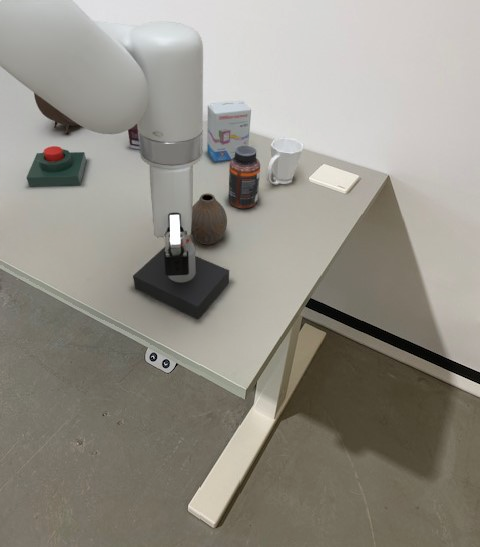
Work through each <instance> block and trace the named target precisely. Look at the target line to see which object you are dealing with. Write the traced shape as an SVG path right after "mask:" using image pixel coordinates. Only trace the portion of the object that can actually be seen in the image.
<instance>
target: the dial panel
mask: <svg viewBox="0 0 480 547" xmlns="http://www.w3.org/2000/svg"><path fill="white" fill-rule="evenodd" d="M164 252H165V246H164V247H162V248H161V249H160V250H159V251H158V252H157V253H156V254H155V255H154V256H153V257H152V258H150V260H148V261H147V262H146V263H145V264H144V265H143V266H142V267H140V269H138V271H136V272H135V273H134V274H133V275H132V279H133V285H134V289H135V290H136V291H139V292H141V293H142V294H144V295H146V296H149V297H151V298H153V299H155V300H157V301H159V302H162V303H163V304H165V305H168V306H169V307H171V308H173V309H176V310H178V311H180V312H182V313H184V314H185V315H188V316H190V317H192V318H194V319H196V320H200V318H201V317H202V316H203V315H204V313H205V312H206V311H207V310H208V309H209V308H210V306H211V305H212V304H213V303H214V302H215V300H217V298H218V297H219V295H221V293H223V291H224V290H225V289H226V288H227V286H228V285H229V282H230V270H229V269H228V268H225V267H222V266H220V265H218V264H215V263H213V262H211V261H209V260H206V259H204V258H202V257H199V256H197V255H195V265H196V274H195V276H194V278H193V279H191V280H190V281H187V282H181V283H180V282H175V281H172V280H171V279H170V278H169V277H168V276H167V275H166V273H165V260H164Z"/></svg>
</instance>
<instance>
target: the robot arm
mask: <svg viewBox="0 0 480 547" xmlns="http://www.w3.org/2000/svg"><path fill="white" fill-rule="evenodd" d="M0 67H1V68H2V69H3V70H4V71H5V72H7V73H8V74H9V75H11V77H13V78H14V79H16V80H17V81H18V82H19V83H21V84H22V85H23V86H24V87H26V88H27V89H28V90H29V91H31V92H33V94H34V93H35V94H37V95H38V96H39V97H41V98H42V99H44V100H45V101H46V102H48V103H49V104H50V105H52V106H53V107H55V108H56V109H57V110H59V111H60V112H61V113H63V114H64V115H66V116H67V117H68V118H70V119H71V120H73V121H74V122H76V123H77V124H79V125H78V126H80V127H82V128H84V129H86V130H88V131H91V132H94V133H97V134H102V135H115V134H117V135H118V134H122V133H124V132H128V130H129V129H131V128H132V127H134V126H135V125H136V124H137V127H138V137H139V146H140V149H139V154H140V159H141V160H142V161H143V162H144V163H145V164H147V165H149V185H150V186H149V187H150V200H151V208H152V209H151V211H152V226H153V235H154V237H155V238H157V239H159V238H164V247H165V250H166V252H164V260H165V273H166V275H167V276H176V275H188V274H189V255H188V251H187V248H186V238H188V237H189V236H190V235H191V224H192V207H193V205H194V203H193V202H194V166H195V165H197V164H198V163H200V161H201V160H202V158H203V150H204V146H203V145H204V144H203V142H204V140H203V139H204V137H203V136H204V135H203V134H204V130H203V126H204V125H203V124H204V123H203V122H204V119H203V118H204V44H203V40H202V37H201V35H200V34H199V32H198V31H197V30H195V28H193V27H191V26H189V25H187V24H184V23H180V22H174V21H150V22H145V23H142V24H138V25H136V24H123V23H116V22H107V21H100V20H94V19H92V18H91V17H90V16H89V15H88V14H87V13H86V11H84V10H83V9H82V8H81V7H80V6H79V5H78V4H77V3H76V2H75V1H74V0H0ZM180 239H182V246H181V242H180ZM169 242H171V246H170V247H169Z"/></svg>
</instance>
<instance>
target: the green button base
mask: <svg viewBox="0 0 480 547" xmlns="http://www.w3.org/2000/svg"><path fill="white" fill-rule="evenodd" d="M62 151H63V155H64V158H63V159H62V160H59V161H47V160H46V158H45V155H44V151H42V152H36V154H35V156H34V159H33V161H32V163H31V166H30V169H29V170H28V173H27V175H26V177H25V178H26V180H27V183H28V186H29V187H30V188H32V187H34V188H35V187H36V188H37V187H62V186H63V187H64V186H81V184H82V181H83V180H82V179H83V175H84V172H85V168H86V164H87V156H86V153H85V151H77V152H76V151H71V152H70V151H69V150H68V149H64V148H62Z"/></svg>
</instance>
